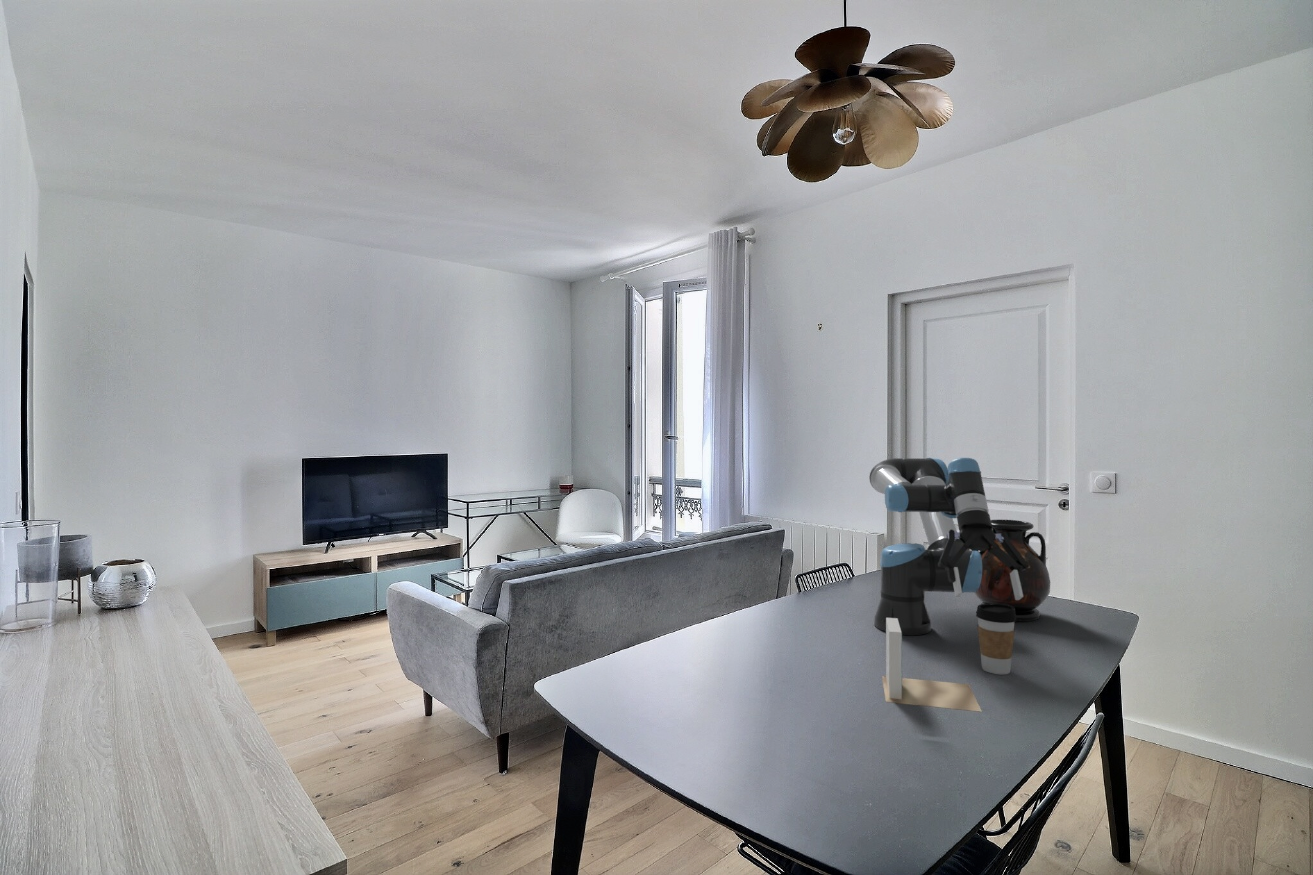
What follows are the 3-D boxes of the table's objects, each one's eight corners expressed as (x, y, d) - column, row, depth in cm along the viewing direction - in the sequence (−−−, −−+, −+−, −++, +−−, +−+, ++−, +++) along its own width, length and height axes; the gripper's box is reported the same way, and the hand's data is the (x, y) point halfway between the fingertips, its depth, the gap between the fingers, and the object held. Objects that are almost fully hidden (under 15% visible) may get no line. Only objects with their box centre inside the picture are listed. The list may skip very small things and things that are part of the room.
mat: (885, 704, 133) (885, 701, 133) (881, 678, 146) (881, 676, 146) (981, 714, 128) (981, 711, 128) (968, 686, 141) (968, 684, 141)
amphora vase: (1045, 609, 200) (1045, 519, 199) (1055, 629, 180) (1055, 529, 180) (968, 601, 209) (968, 515, 208) (969, 620, 189) (969, 525, 189)
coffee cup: (1021, 677, 146) (1022, 612, 146) (981, 675, 148) (981, 610, 148) (1009, 664, 154) (1009, 602, 154) (971, 662, 156) (971, 600, 156)
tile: (889, 698, 135) (889, 631, 134) (886, 679, 144) (886, 617, 144) (902, 699, 134) (902, 632, 134) (898, 680, 144) (898, 618, 143)
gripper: (925, 506, 161) (938, 588, 150) (1030, 510, 159) (1052, 594, 147) (917, 519, 168) (929, 599, 156) (1018, 523, 165) (1038, 604, 154)
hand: (988, 596), depth 152 cm, fingers open, 13 cm apart
